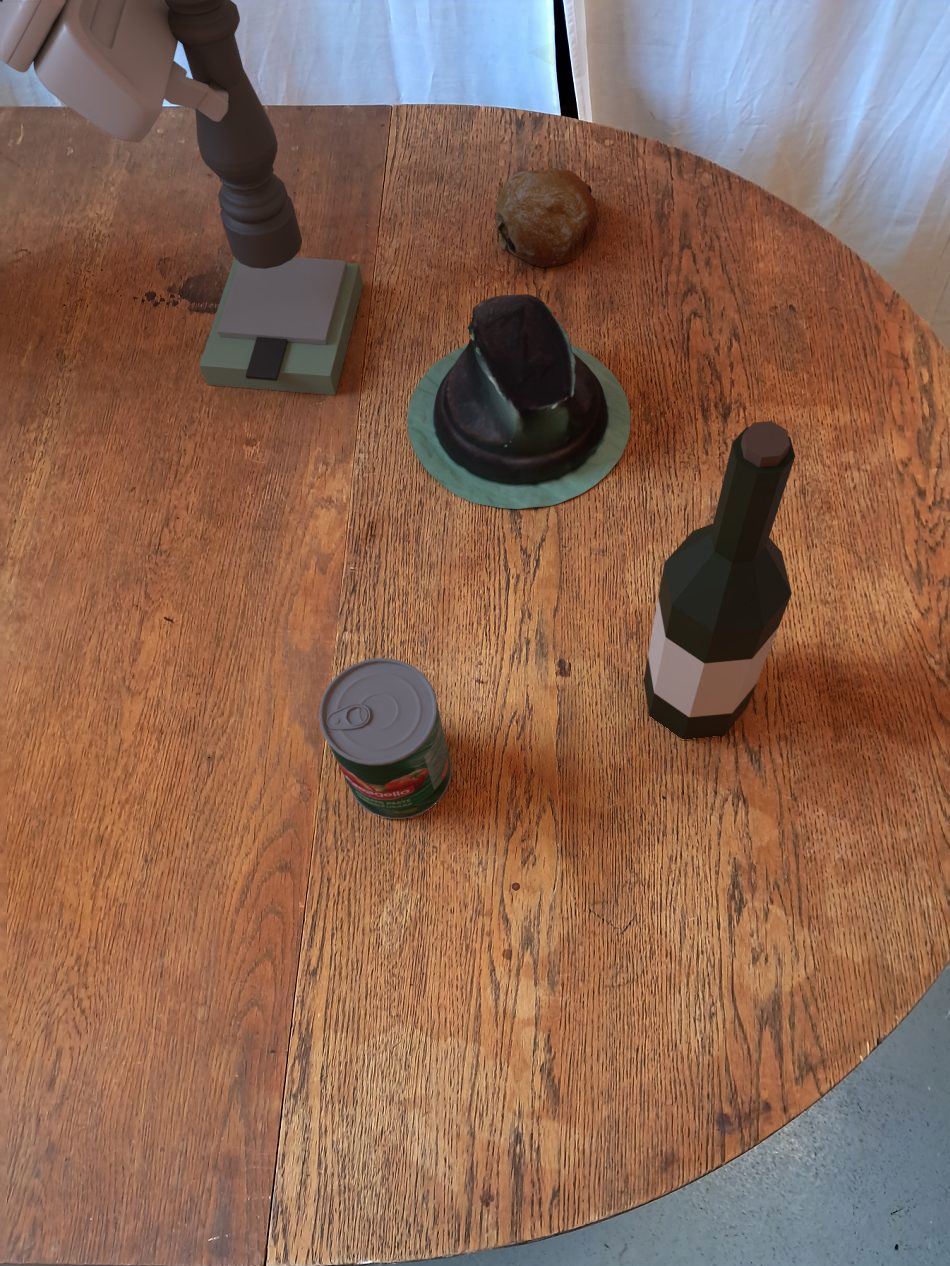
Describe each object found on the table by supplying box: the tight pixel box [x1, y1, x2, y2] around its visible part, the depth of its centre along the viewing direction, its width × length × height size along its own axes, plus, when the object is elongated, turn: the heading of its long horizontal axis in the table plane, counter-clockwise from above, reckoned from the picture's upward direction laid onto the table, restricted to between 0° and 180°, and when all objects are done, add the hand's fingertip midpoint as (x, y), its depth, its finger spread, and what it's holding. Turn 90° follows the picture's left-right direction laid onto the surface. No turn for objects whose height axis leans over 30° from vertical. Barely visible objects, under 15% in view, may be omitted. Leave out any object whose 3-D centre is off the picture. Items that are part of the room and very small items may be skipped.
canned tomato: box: [318, 657, 453, 820], centre depth 74 cm, size 8×8×11 cm
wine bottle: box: [643, 420, 796, 740], centre depth 68 cm, size 8×8×30 cm
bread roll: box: [495, 167, 599, 268], centre depth 102 cm, size 10×10×8 cm
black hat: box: [407, 293, 632, 510], centre depth 91 cm, size 15×19×20 cm
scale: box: [199, 256, 364, 396], centre depth 97 cm, size 12×15×3 cm
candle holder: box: [165, 0, 303, 269], centre depth 79 cm, size 6×6×25 cm
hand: (229, 87), depth 78 cm, fingers closed on candle holder, 4 cm apart
